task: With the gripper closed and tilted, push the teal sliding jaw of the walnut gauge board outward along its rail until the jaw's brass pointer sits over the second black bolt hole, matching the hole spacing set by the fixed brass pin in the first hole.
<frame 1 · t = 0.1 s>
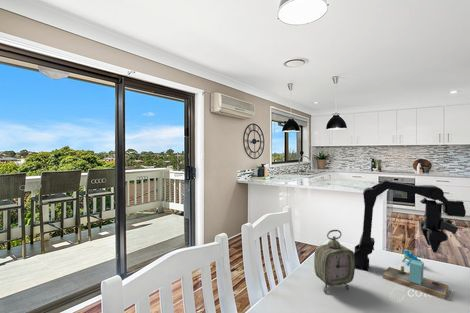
hand: (431, 248, 112), 15 cm above the table, tool pointing down, fingers open, 9 cm apart
blue irregular piece: (412, 265, 128), on the table
gauge board: (414, 283, 110), on the table
tabletop clock: (332, 287, 107), on the table
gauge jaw: (417, 270, 108), point 6 cm above the table, slide at 0.0 cm
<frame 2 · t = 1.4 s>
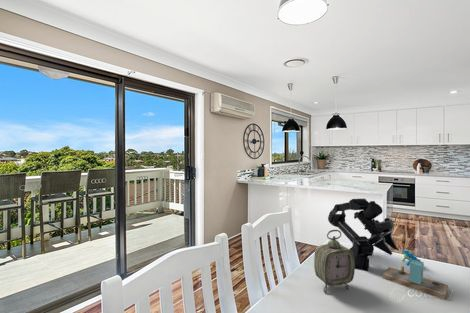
hand: (394, 251, 114), 12 cm above the table, tool tilted 45°, fingers open, 8 cm apart
nothing on the table moved.
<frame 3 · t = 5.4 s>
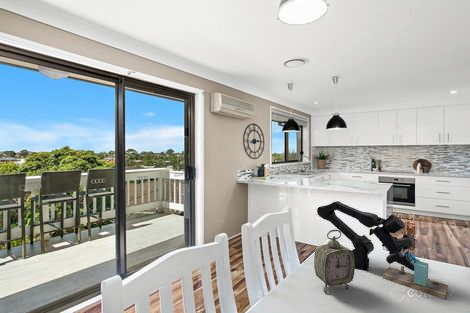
hand: (414, 270, 108), 7 cm above the table, tool tilted 45°, fingers closed, pressing on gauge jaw
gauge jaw: (421, 272, 107), point 6 cm above the table, slide at 1.7 cm, touching gripper
everything else where it was.
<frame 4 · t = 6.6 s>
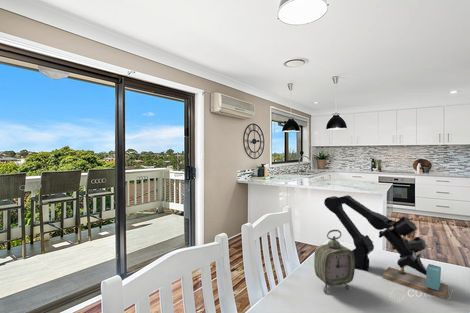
hand: (426, 274, 105), 7 cm above the table, tool tilted 45°, fingers closed, pressing on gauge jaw
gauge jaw: (433, 275, 104), point 6 cm above the table, slide at 5.8 cm, touching gripper
everything else where it was.
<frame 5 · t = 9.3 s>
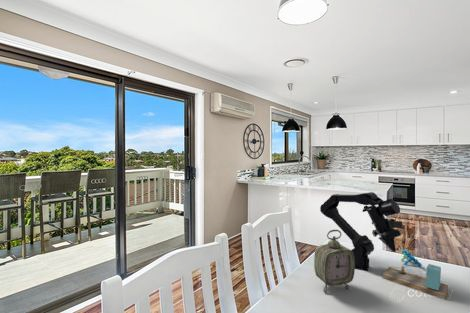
hand: (394, 251, 113), 13 cm above the table, tool tilted 25°, fingers closed
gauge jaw: (433, 275, 104), point 6 cm above the table, slide at 5.8 cm
everything else where it was.
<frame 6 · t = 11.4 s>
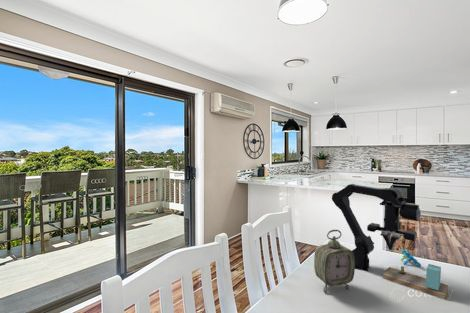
hand: (390, 249, 115), 13 cm above the table, tool pointing down, fingers closed
at the end: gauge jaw slide at 5.8 cm; blue irregular piece moved 1.1 cm from its start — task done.
